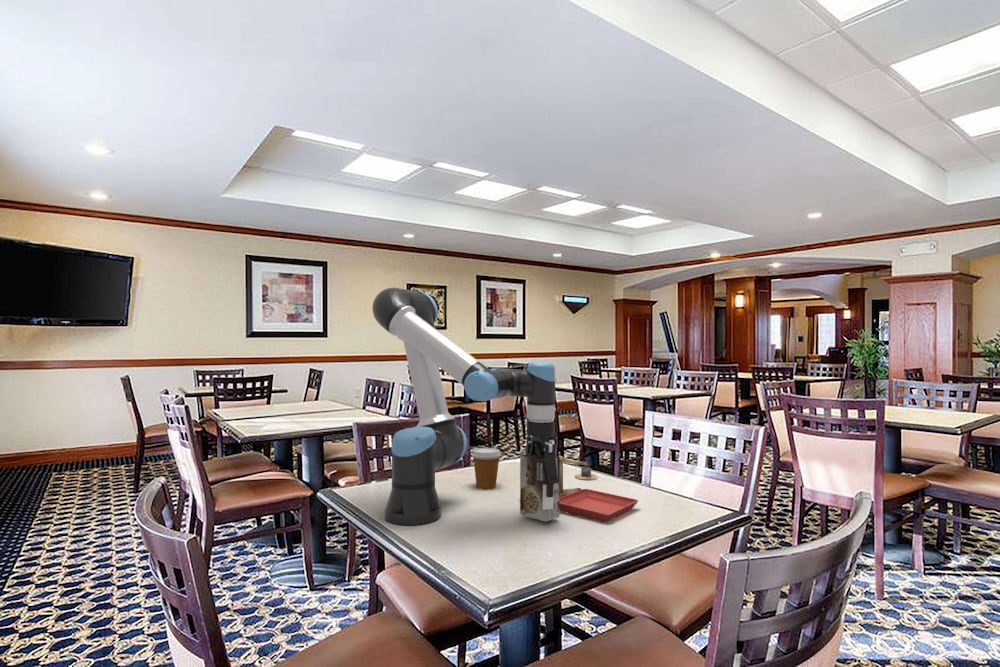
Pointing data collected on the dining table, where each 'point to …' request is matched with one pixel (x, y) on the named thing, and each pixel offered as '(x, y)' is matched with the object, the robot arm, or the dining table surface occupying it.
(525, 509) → the coffee box
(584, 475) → the balance
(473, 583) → the dining table surface
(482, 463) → the disposable coffee cup
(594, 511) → the plant saucer
